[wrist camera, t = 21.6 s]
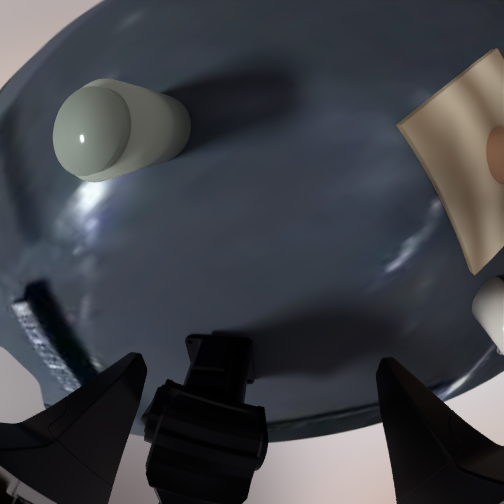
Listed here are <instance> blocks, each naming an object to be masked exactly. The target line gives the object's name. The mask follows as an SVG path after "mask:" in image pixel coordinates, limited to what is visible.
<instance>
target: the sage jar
mask: <svg viewBox="0 0 504 504" xmlns="http://www.w3.org/2000/svg"><path fill="white" fill-rule="evenodd" d="M190 132H191V120H190V116H189V113H188V111H187V109H186V107H185V106H184V105H183V104H182V103H181V102H180V101H179V100H177V99H176V98H174V97H171V96H168V95H165V94H162V93H159V92H156V91H152V90H149V89H146V88H142V87H139V86H135V85H132V84H128V83H125V82H121V81H117V80H112V79H99V80H96V81H93V82H90V83H88V84H87V85H85V86H84V87H82V88H81V89H79V90H77V91H76V92H74V93H73V94H72V95H71V96H69V98H68V99H67V100H66V101H65V102H64V104H63V105H62V107H61V108H60V110H59V112H58V115H57V117H56V121H55V124H54V130H53V143H54V149H55V153H56V156H57V158H58V160H59V162H60V163H61V165H62V166H63V167H64V168H65V169H66V170H67V171H68V172H70V173H71V174H74V175H76V176H77V177H79V178H80V179H82V180H85V181H88V182H101V181H105V180H108V179H111V178H114V177H117V176H120V175H123V174H126V173H130V172H133V171H136V170H139V169H143V168H146V167H149V166H153V165H156V164H160V163H164V162H167V161H169V160H171V159H173V158H174V157H176V156H177V155H178V154H179V153H180V152H181V151H182V150H183V149H184V147H185V146H186V144H187V142H188V139H189V136H190Z"/></svg>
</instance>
